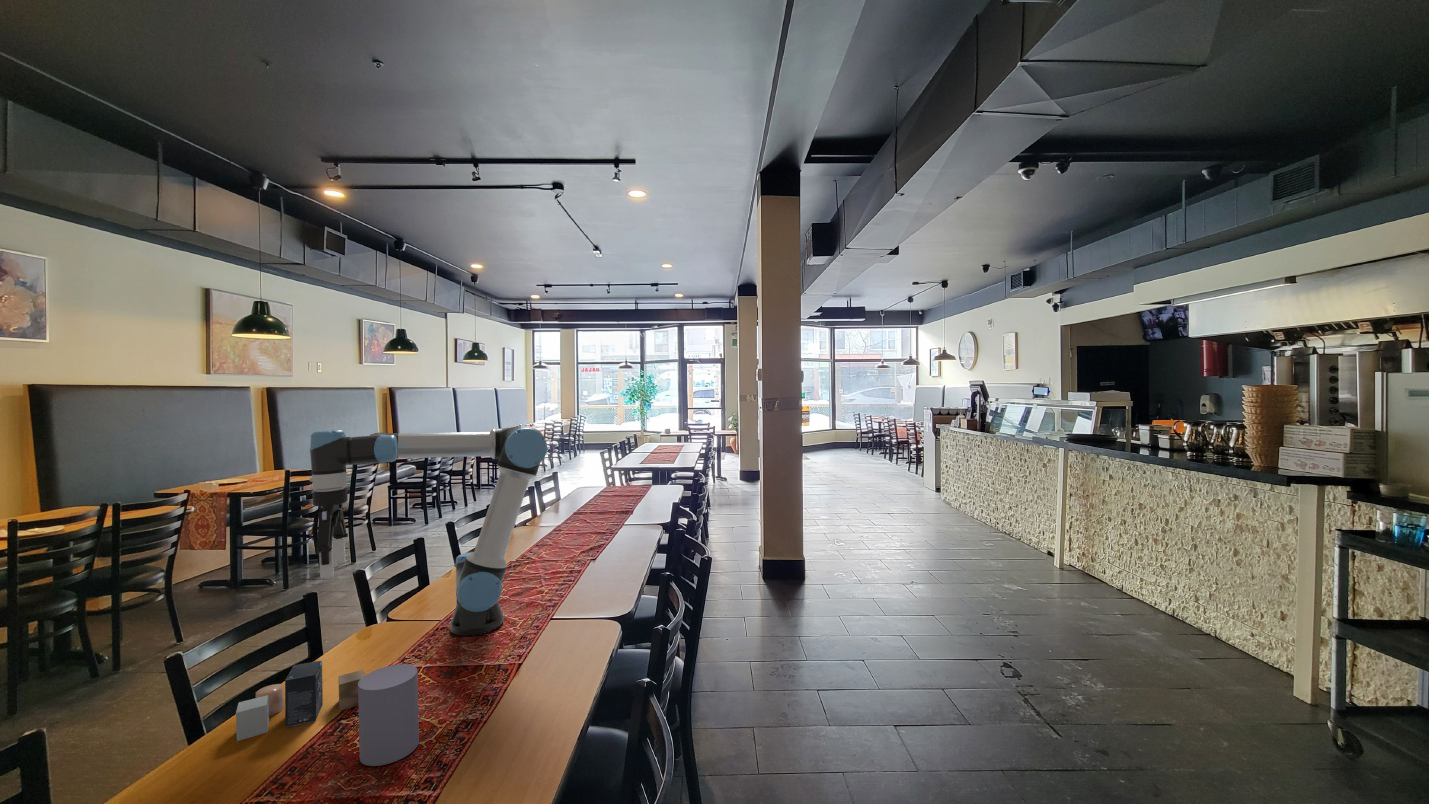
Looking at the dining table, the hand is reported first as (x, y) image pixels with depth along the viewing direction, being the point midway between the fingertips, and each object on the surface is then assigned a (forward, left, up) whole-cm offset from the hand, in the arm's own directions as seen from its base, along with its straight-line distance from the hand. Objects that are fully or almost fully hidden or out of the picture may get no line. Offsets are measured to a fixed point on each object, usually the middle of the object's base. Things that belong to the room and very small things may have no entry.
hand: (333, 569), depth 145 cm
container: (-27, +40, -27) cm, 56 cm away
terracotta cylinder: (+6, +18, -27) cm, 33 cm away
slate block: (+5, +26, -27) cm, 38 cm away
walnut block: (-11, +18, -27) cm, 34 cm away
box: (-3, +22, -27) cm, 35 cm away
